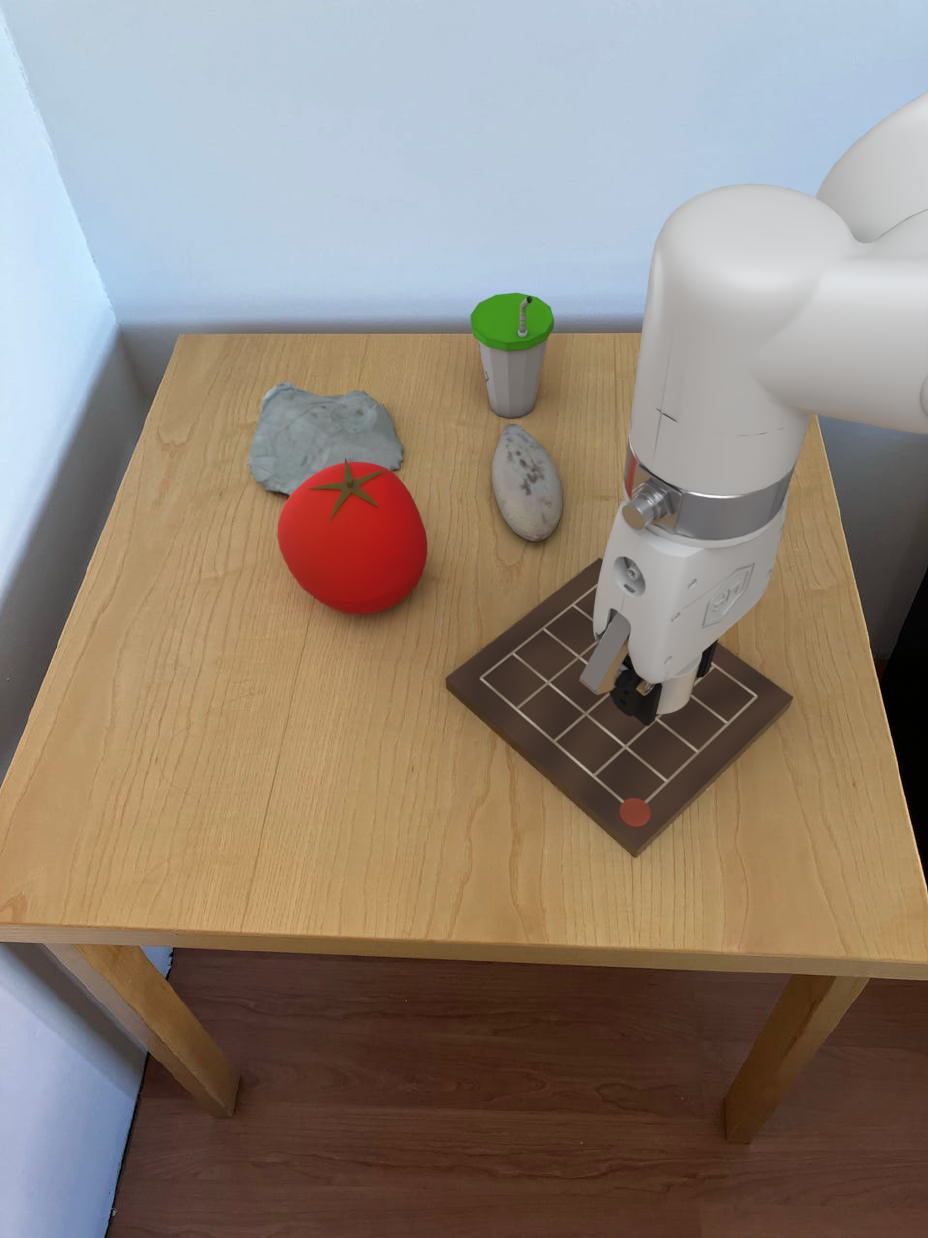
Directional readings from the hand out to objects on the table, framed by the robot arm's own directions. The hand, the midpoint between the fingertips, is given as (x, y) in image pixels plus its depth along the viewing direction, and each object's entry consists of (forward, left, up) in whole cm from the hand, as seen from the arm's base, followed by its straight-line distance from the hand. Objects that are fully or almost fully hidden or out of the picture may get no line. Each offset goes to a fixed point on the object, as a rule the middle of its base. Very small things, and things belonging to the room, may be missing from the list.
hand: (659, 683), depth 59 cm
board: (+7, -5, -15) cm, 17 cm away
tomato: (+30, +2, -15) cm, 33 cm away
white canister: (0, 0, 0) cm, 0 cm away
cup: (+38, -24, -15) cm, 47 cm away
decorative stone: (+28, -16, -15) cm, 35 cm away
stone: (+46, -6, -15) cm, 48 cm away
